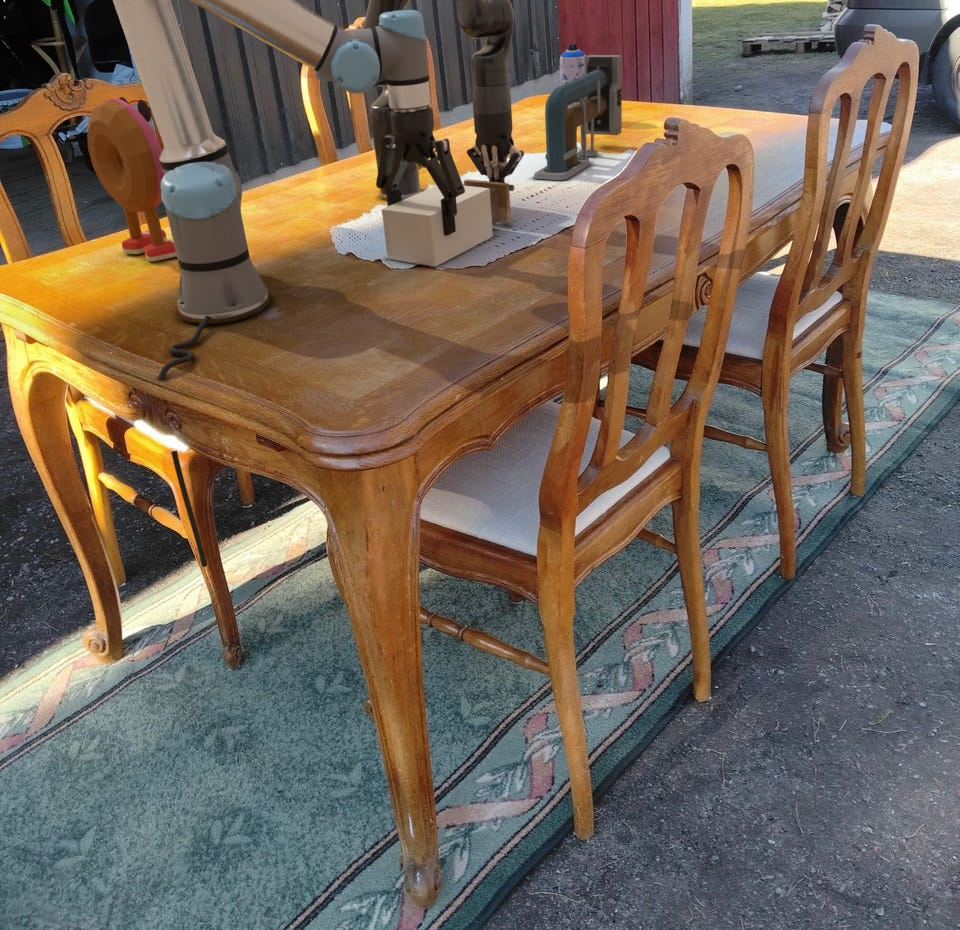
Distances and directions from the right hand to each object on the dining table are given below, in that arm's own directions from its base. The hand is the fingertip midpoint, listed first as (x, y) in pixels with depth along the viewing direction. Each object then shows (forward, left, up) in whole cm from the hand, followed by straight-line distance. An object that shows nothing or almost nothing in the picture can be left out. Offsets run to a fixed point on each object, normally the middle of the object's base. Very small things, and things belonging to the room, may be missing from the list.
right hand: (497, 196), depth 198 cm
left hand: (+16, -19, 0) cm, 25 cm away
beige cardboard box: (+13, -15, -5) cm, 21 cm away
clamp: (-36, +30, -5) cm, 47 cm away
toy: (-12, -69, -5) cm, 70 cm away
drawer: (+6, -7, -3) cm, 10 cm away
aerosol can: (-82, +46, -5) cm, 94 cm away
